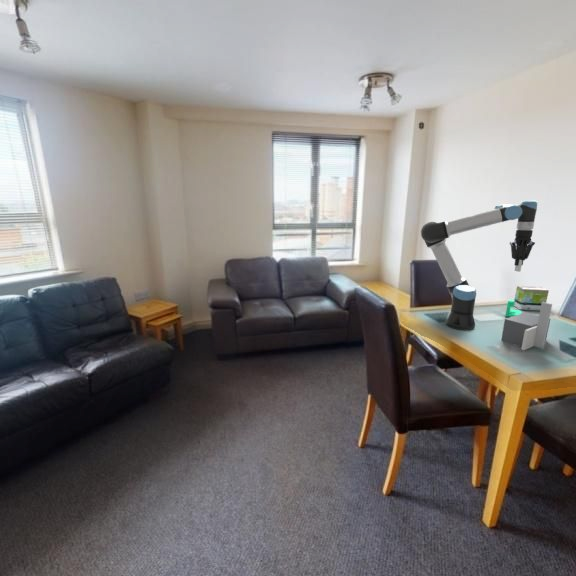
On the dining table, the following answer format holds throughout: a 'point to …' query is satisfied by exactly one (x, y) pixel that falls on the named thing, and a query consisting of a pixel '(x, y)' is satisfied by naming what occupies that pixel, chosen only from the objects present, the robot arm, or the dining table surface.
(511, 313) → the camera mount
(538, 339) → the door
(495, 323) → the dining table surface
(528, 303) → the tea box
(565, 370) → the dining table surface
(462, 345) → the dining table surface
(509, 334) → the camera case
